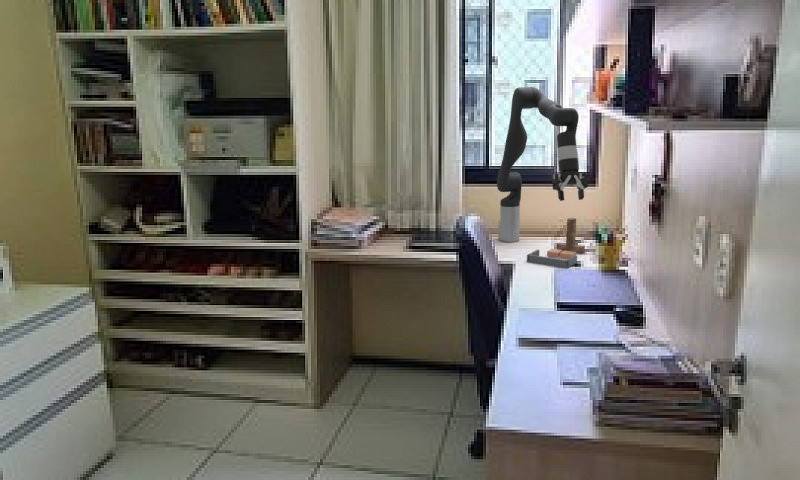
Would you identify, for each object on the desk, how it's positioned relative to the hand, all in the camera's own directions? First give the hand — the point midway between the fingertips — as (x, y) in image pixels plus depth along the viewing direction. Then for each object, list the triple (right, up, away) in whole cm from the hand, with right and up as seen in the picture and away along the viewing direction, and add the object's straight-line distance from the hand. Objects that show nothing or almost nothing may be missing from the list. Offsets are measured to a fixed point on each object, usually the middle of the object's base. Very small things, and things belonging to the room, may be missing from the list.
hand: (571, 200), depth 226 cm
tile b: (+6, -23, +26) cm, 35 cm away
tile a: (+1, -23, +29) cm, 37 cm away
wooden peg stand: (+10, -21, +35) cm, 42 cm away
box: (-3, -25, +20) cm, 32 cm away
